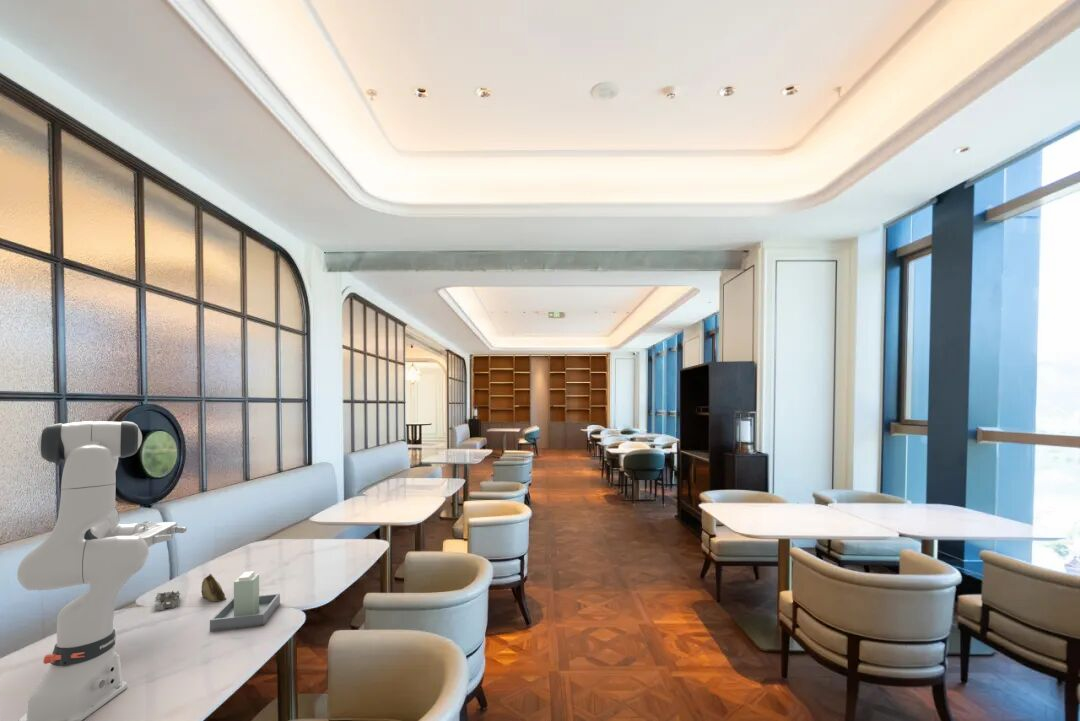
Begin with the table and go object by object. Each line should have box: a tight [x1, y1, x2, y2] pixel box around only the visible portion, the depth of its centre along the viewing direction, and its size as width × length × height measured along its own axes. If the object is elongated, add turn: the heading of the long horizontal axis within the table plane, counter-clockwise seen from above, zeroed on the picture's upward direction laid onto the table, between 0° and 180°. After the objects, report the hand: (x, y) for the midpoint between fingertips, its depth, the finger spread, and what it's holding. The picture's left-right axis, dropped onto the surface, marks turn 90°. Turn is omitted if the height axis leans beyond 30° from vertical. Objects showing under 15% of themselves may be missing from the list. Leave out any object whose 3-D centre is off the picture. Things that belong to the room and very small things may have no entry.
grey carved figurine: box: [154, 590, 181, 611], centre depth 191 cm, size 11×8×4 cm
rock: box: [200, 573, 227, 602], centre depth 196 cm, size 11×9×10 cm
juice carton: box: [233, 570, 260, 617], centre depth 178 cm, size 6×6×13 cm
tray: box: [209, 593, 281, 632], centre depth 177 cm, size 18×16×4 cm
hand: (178, 533), depth 175 cm, fingers open, 8 cm apart
